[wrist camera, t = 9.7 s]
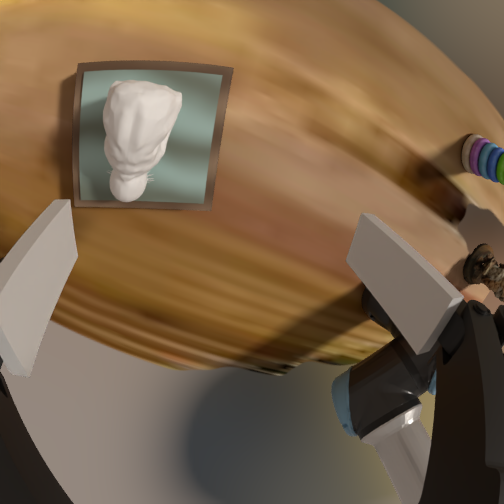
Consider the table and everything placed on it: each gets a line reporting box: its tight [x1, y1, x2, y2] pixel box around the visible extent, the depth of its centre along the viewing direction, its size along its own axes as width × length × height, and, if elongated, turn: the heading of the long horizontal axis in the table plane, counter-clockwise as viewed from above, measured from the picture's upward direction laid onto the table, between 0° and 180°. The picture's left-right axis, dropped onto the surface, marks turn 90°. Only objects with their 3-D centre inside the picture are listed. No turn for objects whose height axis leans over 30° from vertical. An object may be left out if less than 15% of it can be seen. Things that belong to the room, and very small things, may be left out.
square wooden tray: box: [72, 61, 234, 211], centre depth 28 cm, size 16×16×4 cm
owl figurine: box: [463, 244, 504, 302], centre depth 53 cm, size 18×12×17 cm, turn 62°
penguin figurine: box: [103, 80, 182, 202], centre depth 23 cm, size 6×8×12 cm
